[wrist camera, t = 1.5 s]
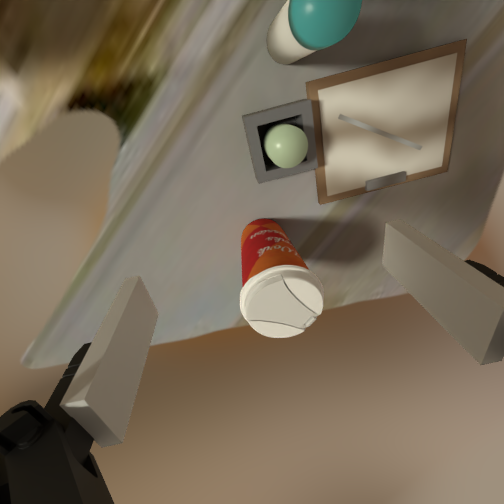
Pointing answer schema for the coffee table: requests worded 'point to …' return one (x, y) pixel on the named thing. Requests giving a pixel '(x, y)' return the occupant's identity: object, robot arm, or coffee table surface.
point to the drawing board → (385, 121)
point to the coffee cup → (276, 283)
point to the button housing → (297, 109)
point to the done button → (285, 145)
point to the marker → (309, 27)
